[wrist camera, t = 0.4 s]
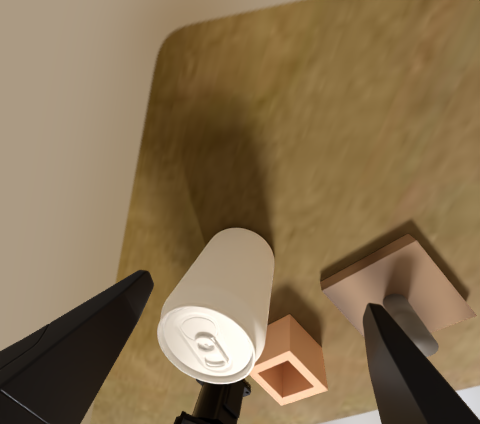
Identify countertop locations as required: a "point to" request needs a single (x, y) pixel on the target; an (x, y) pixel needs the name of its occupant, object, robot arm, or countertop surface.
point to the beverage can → (220, 309)
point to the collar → (290, 363)
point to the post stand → (399, 292)
